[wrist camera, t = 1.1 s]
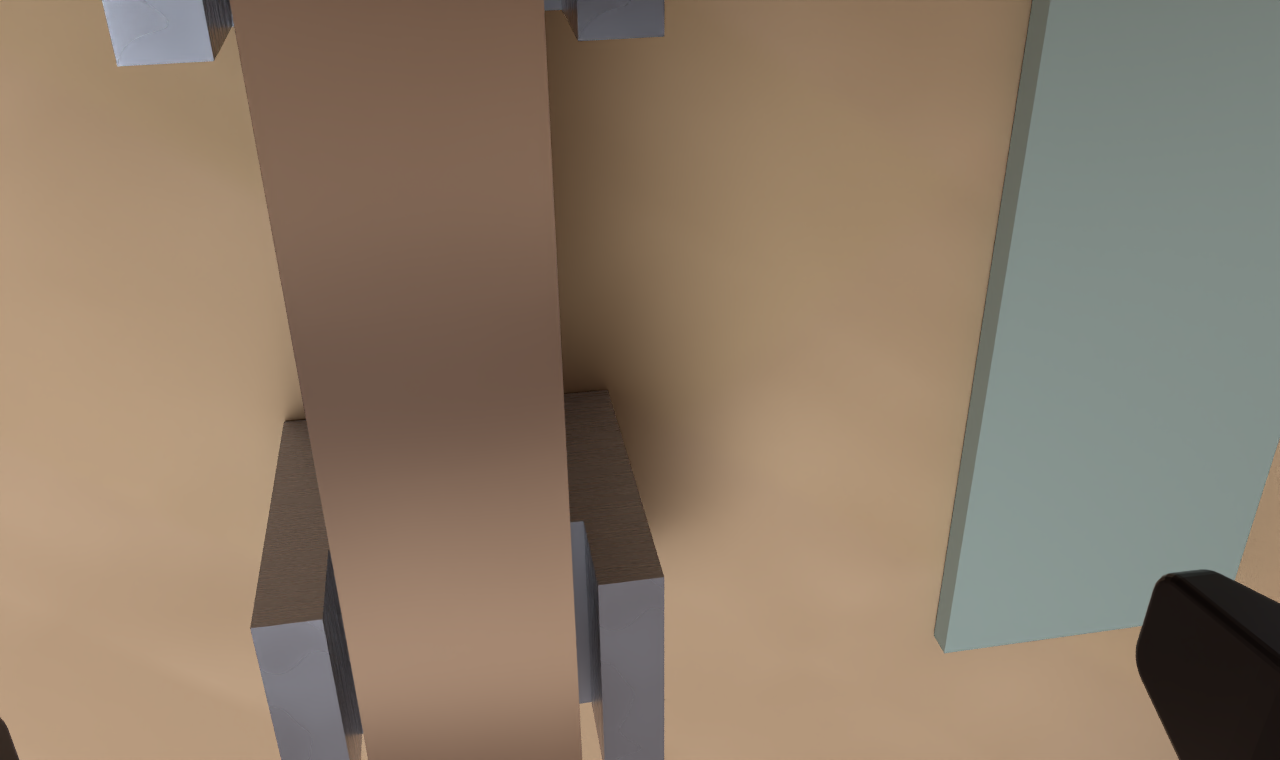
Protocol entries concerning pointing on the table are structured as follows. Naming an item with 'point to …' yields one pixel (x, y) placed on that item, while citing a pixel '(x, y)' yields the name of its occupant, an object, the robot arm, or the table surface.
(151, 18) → the grey notched block
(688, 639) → the table surface
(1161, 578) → the robot arm
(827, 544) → the table surface
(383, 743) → the rail
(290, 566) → the grey block
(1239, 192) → the mat
